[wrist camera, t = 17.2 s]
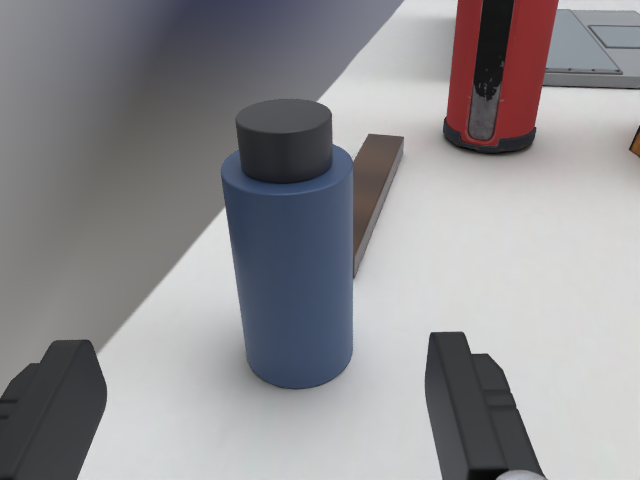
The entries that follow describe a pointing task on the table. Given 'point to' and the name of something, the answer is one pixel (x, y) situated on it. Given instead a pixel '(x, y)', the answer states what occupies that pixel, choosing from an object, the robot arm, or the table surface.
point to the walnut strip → (372, 186)
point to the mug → (636, 143)
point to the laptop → (594, 49)
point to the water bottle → (292, 241)
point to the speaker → (498, 72)
